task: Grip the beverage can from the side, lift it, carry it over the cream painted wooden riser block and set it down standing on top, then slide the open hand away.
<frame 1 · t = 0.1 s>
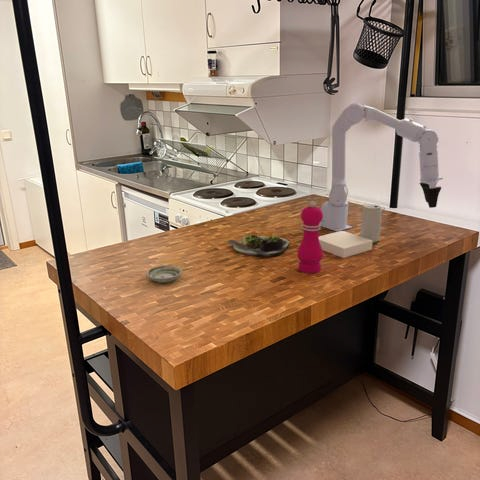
hand: (431, 204, 163), 10 cm above the counter, tool pointing down, fingers open, 7 cm apart
salad plate: (262, 250, 153), on the counter
saucer: (164, 280, 129), on the counter
pepper mill: (309, 269, 136), on the counter
beverage can: (369, 240, 160), on the counter
riser: (342, 247, 152), on the counter
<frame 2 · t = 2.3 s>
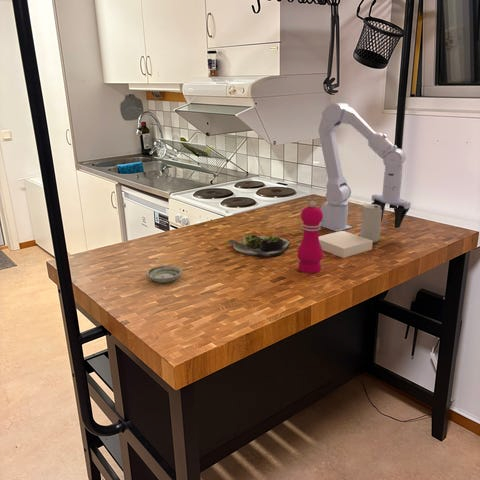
hand: (388, 224, 163), 4 cm above the counter, tool pointing down, fingers open, 7 cm apart
nothing on the counter moved.
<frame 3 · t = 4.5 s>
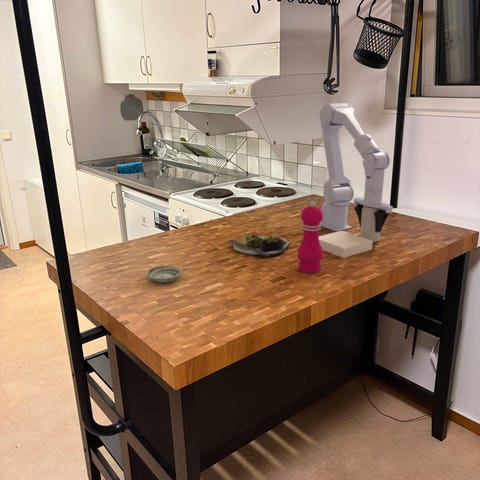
hand: (370, 229, 158), 4 cm above the counter, tool pointing down, fingers closed on beverage can, 6 cm apart
beverage can: (369, 240, 160), on the counter, touching gripper
everything else where it was.
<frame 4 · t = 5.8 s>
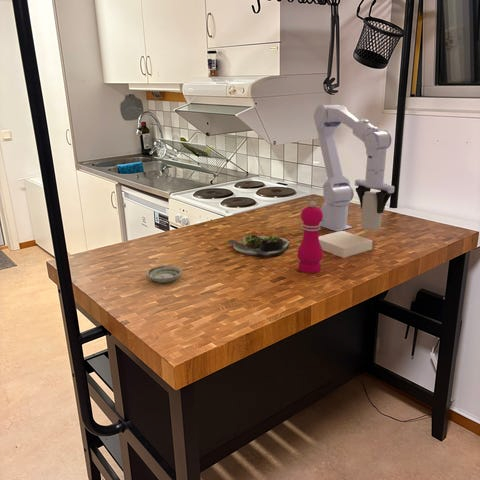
hand: (371, 210, 156), 10 cm above the counter, tool pointing down, fingers closed on beverage can, 6 cm apart
beverage can: (370, 228, 158), point 4 cm above the counter, touching gripper
everything else where it was.
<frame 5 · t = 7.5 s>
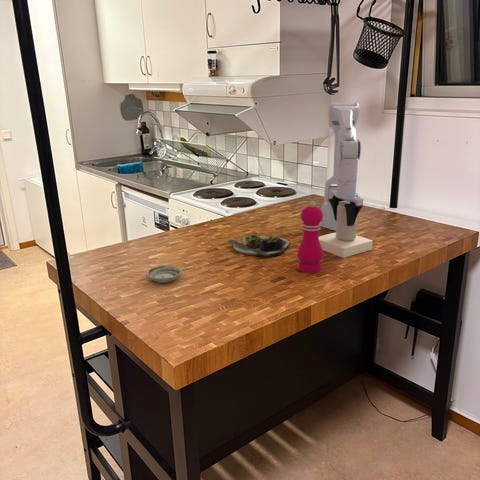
hand: (344, 222, 150), 8 cm above the counter, tool pointing down, fingers closed on beverage can, 6 cm apart
beverage can: (345, 239, 152), point 3 cm above the counter, touching gripper, riser
everything else where it was.
when the fingers open (8 cm above the counter, at t = 7.9 s): beverage can stays where it is, resting on riser.
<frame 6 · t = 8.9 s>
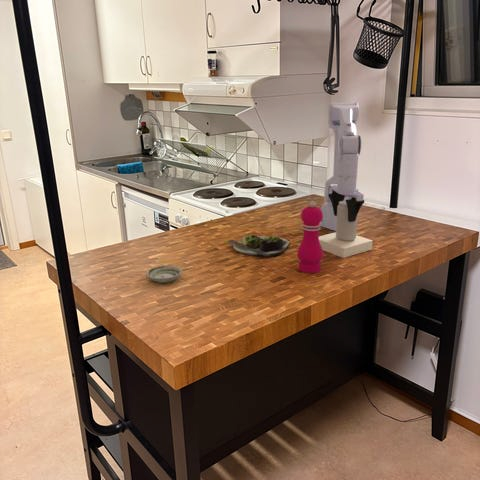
hand: (344, 218, 149), 10 cm above the counter, tool pointing down, fingers open, 7 cm apart
beverage can: (345, 239, 152), point 3 cm above the counter, touching riser
everything else where it was.
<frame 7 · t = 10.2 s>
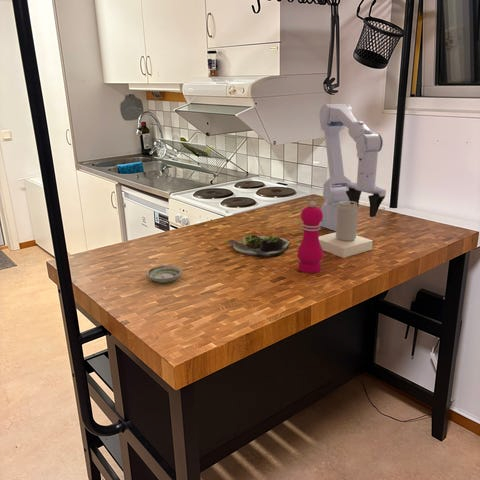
hand: (363, 213, 154), 10 cm above the counter, tool pointing down, fingers open, 7 cm apart
nothing on the counter moved.
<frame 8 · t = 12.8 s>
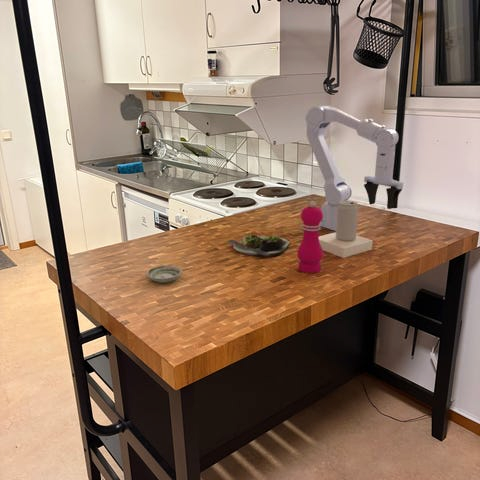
hand: (380, 206, 162), 10 cm above the counter, tool pointing down, fingers open, 7 cm apart
nothing on the counter moved.
at the end: beverage can inside the target area on the riser (0.9 cm from its centre), point 2.8 cm above the riser's base; beverage can tilted 0°; the gripper is holding nothing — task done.
